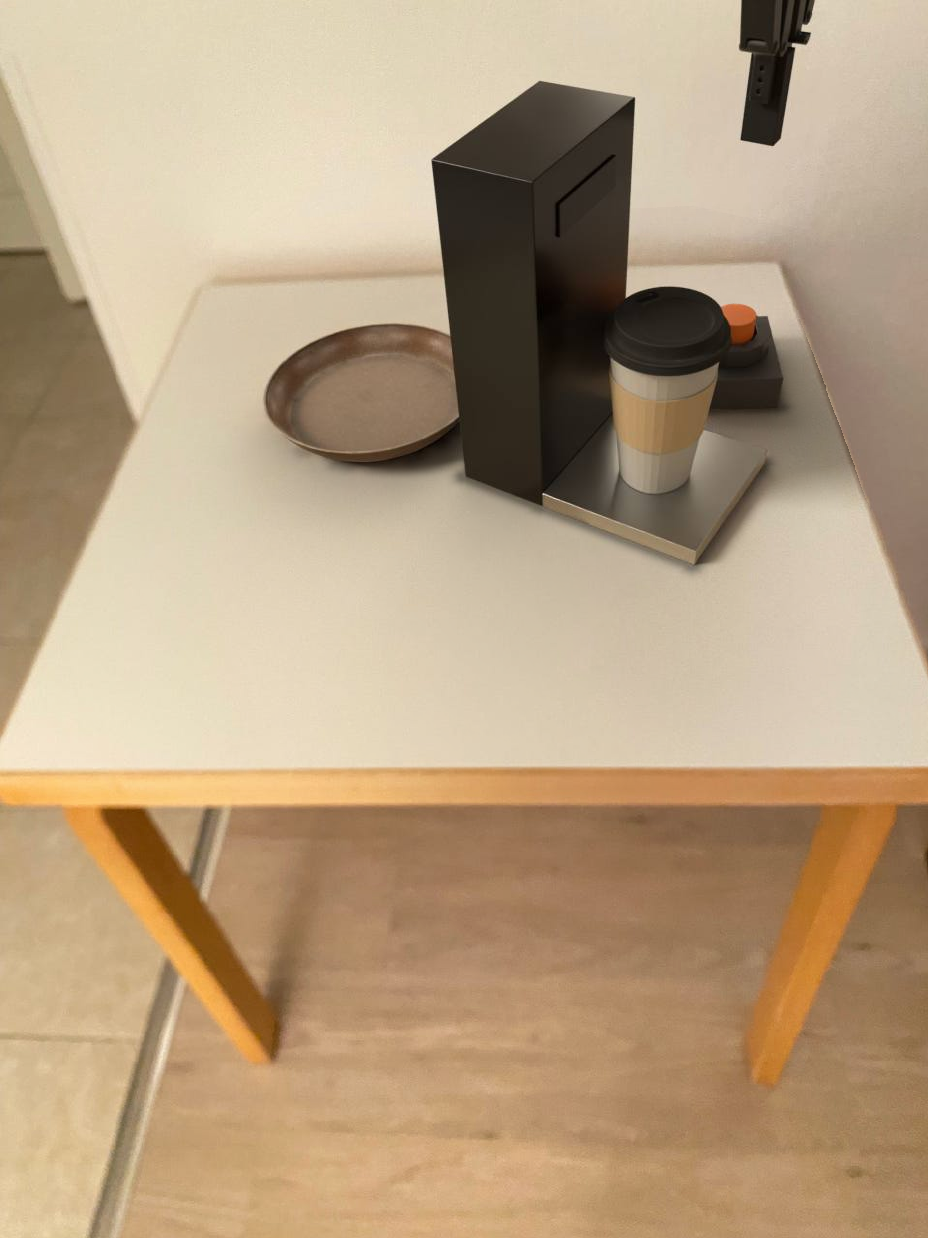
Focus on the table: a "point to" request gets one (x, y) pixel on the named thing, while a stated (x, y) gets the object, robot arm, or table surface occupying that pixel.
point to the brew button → (740, 322)
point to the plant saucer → (366, 392)
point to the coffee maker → (558, 318)
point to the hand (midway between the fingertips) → (760, 138)
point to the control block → (750, 372)
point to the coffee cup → (663, 381)
